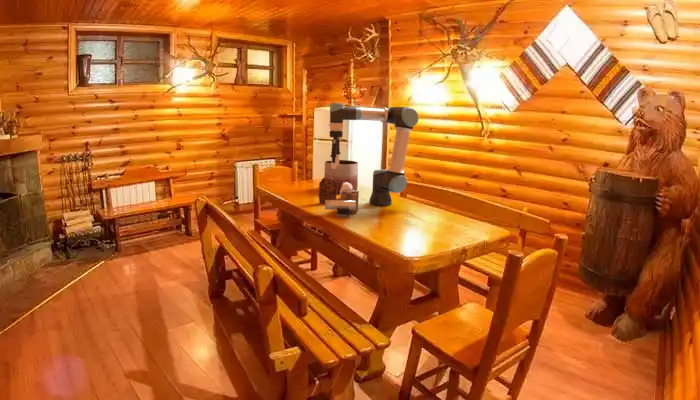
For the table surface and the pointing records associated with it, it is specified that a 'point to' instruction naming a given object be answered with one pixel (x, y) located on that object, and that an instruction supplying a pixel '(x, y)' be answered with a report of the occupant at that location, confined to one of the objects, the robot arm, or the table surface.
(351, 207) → the axle
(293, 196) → the table surface
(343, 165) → the planter
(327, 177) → the wooden figurine
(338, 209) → the v block
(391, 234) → the table surface
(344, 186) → the figurine
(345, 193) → the brown open box
